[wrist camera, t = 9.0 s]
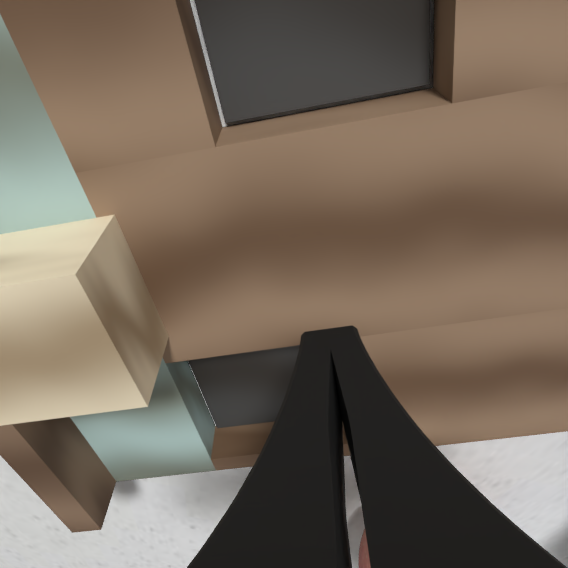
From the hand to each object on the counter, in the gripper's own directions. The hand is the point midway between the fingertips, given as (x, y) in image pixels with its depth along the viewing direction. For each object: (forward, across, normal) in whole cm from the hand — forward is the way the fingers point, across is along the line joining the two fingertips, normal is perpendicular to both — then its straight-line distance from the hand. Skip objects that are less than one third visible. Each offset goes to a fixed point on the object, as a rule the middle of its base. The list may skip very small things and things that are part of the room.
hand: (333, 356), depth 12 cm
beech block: (+5, +9, 0) cm, 10 cm away
